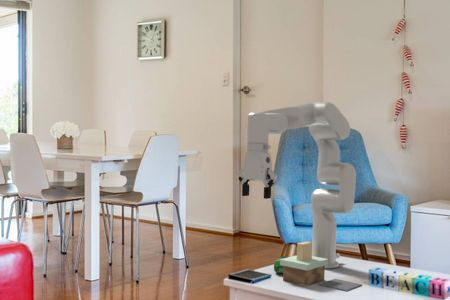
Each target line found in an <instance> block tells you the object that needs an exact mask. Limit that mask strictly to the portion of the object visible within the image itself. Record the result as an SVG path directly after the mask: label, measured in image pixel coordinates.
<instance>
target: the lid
mask: <svg viewBox="0 0 450 300" xmlns="http://www.w3.org/2000/svg"><path fill="white" fill-rule="evenodd" d="M280 265H283V266H288V267H292V268H297V269H302V270H306V271H308V270H311V269H314V268H318V267H321V266H325V265H328V259H325V258H320V257H315V256H312V241H306V240H305V241H302V242H297V243H296V255H292V256H289V257H288V258H284V259H280Z"/></svg>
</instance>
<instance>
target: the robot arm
mask: <svg viewBox="0 0 450 300" xmlns="http://www.w3.org/2000/svg"><path fill="white" fill-rule="evenodd" d="M246 119H247V120H246V123H247V124H246V151H245V153H244V157H243V162H242V163H243V165H242V168H241V169H239V170H238V171H236V174H237V177H238V181H239V182H240V185H241V188H242V189H241V196H242V197H248V196H250V182H251V181H257V182H262V183H263V185H264V187H263V199H265V200H266V199H271V196H272V187H273V186H274V184H275V183H276V181H277V178H278V177H279V176H278V174H277V173H276V172H274V170H273V162H272V157H271V156H272V155H271V152H269V150H270V149H271V145H269V135H280V134H283V133H284V132H286V131H287V130H295V129H300V128H304V127H306V126H308V131H309V133H310V135H311V137H312V138H313V139H314V141H315V143H316V145H317V148H318V149H317V150H318V158H317V171H316V179H317V182H319V184H322V185H324V186H325V185H326V186H336V187H338V188H339V189H338V188H336V189H335V188H327V187H320V188H317V189H314V191H313V192H312V193H311V196H310V202H311V210H312V239H311V242H312V256H315V257H320V258H325V259H328V265H325V270H326V269H329V270H330V269H337V268H339V267H340V262H339V261H337V259H339V258H340V257H341V254H340V253H337V252H336V251H337V220H336V217H335V215H334V214H340V215H341V214H342V215H347V214H349V213H351V212H352V210H353V208H354V205H355V195H356V182H357V173H356V169H355V167H354V165H352V164H351V163H349V162H340V150H341V149H340V147H339V144H338V143H337V141H342V140H343V141H344V140H346V139H347V138H348V137H349V136H350V134H351V126H350V122H349V121H348V119H347V118H346V117H345V116H344V114H343V113H342V112H341V110H340V109H339V107H337V106H336V105H335V104H334V103H332V102H330V101H310V102H305V103H300V104H298V105H292V106H291V105H290V106H285V107H282V108H276V109H269V110H264V111H263V110H262V111H259V112H250V113H248V114H247V118H246ZM333 213H334V214H333Z"/></svg>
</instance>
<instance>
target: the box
mask: <svg viewBox="0 0 450 300" xmlns="http://www.w3.org/2000/svg"><path fill="white" fill-rule="evenodd" d="M325 270H326V268H325V266H321V267H318V268H314V269H311V270H308V271H306V270H302V269H297V268H292V267H288V266H283V273H282V281H283V282H287V283H291V284H295V285H300V286H304V287H308V286H311V285H315V284H317V283H320V282H323V281H325V272H326V271H325Z"/></svg>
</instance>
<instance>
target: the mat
mask: <svg viewBox="0 0 450 300" xmlns="http://www.w3.org/2000/svg"><path fill="white" fill-rule="evenodd" d="M318 286H320V287H324V288H325V287H326V288H329V289H335V290H339V291H342V292H348V291H351V290H354V289H357V288H359V287H362V286H363V284H362V283H358V282H354V281H348V280H344V279H339V278H333V279H330V280H327V281H324V282H321V283H319V284H318Z"/></svg>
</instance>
